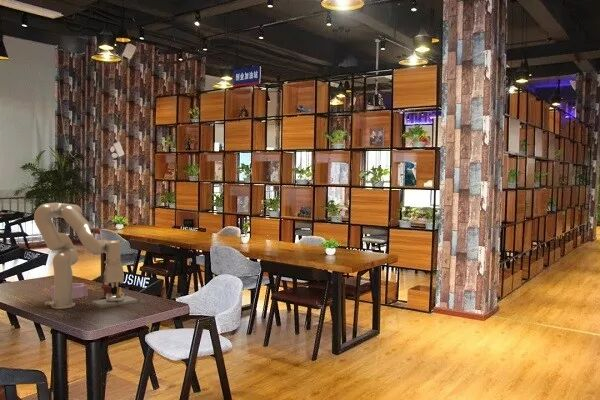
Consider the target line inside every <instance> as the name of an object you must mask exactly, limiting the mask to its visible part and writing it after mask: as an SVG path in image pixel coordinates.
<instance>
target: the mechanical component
mask: <svg viewBox="0 0 600 400" xmlns="http://www.w3.org/2000/svg"><path fill="white" fill-rule="evenodd" d="M104 282H105V281H104V279H103V280H102V284H101V285H100V287H101V289H103V297H105V298H106V293H109V294H111V287H110V286H109V285H105V284H104ZM113 284H114V283H113ZM119 285H120V284H119ZM119 285H118V287H119ZM118 287H117V288H118Z"/></svg>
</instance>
